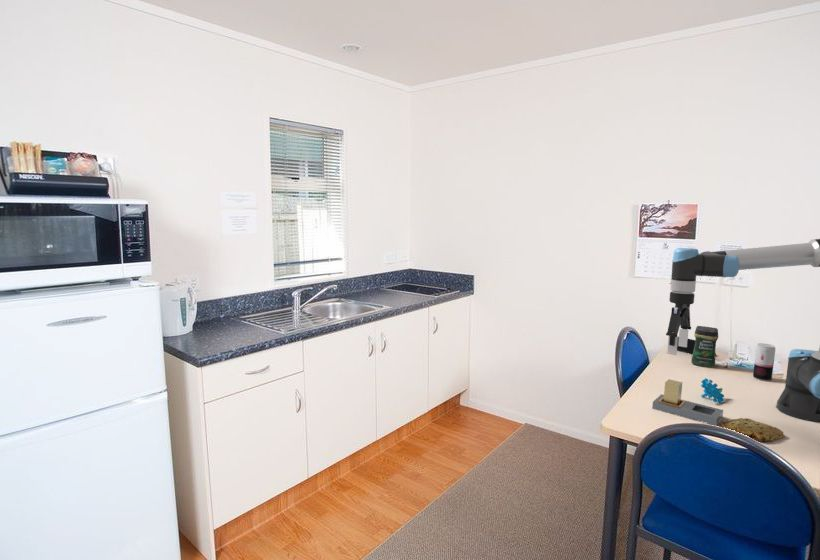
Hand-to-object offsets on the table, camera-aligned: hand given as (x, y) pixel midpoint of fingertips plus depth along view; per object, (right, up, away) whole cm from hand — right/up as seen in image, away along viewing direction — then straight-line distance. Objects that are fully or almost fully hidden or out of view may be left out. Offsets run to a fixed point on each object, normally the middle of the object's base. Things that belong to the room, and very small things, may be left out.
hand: (677, 350), depth 167 cm
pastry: (+16, -25, -14) cm, 33 cm away
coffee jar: (+43, -15, +54) cm, 71 cm away
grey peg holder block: (+3, -22, 0) cm, 22 cm away
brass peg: (0, -22, +3) cm, 22 cm away
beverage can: (+58, -18, +36) cm, 70 cm away
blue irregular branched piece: (+20, -21, +12) cm, 31 cm away
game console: (+50, -13, +72) cm, 89 cm away
